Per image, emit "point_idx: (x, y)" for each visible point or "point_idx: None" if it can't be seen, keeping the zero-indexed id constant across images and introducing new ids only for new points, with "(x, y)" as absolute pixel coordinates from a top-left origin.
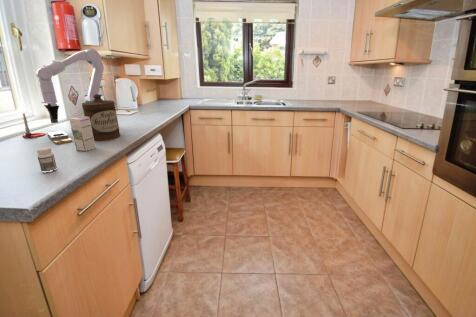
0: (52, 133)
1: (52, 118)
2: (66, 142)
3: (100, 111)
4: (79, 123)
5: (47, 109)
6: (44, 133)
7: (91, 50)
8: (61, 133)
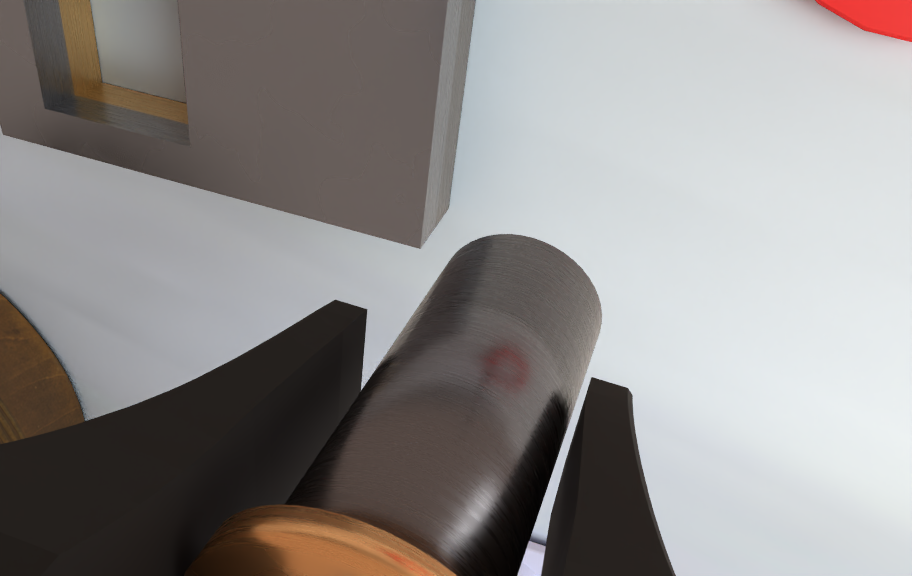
0: (300, 22)
1: (408, 328)
2: None
3: None
4: None
5: (344, 526)
6: (864, 15)
7: None
8: (189, 127)
